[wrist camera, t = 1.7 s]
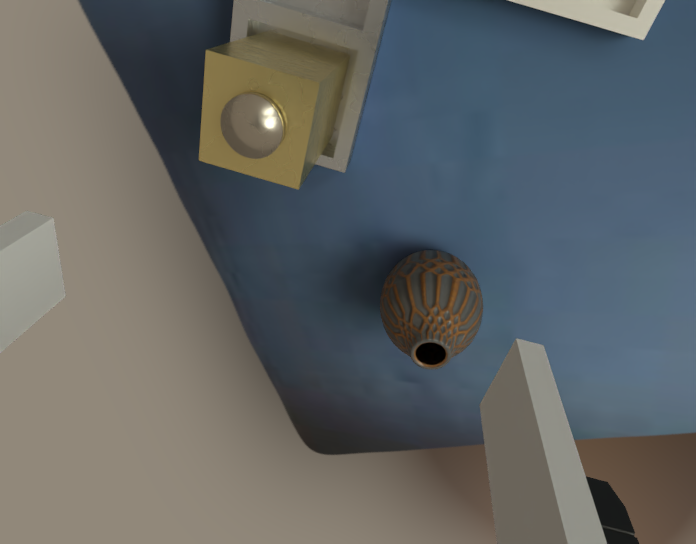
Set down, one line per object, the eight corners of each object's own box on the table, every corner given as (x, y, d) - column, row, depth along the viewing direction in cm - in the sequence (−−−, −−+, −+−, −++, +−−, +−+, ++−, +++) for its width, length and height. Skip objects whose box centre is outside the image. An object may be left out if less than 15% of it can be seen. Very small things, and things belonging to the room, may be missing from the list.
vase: (370, 293, 36) (355, 371, 29) (407, 221, 33) (401, 290, 25) (450, 325, 37) (455, 410, 30) (496, 258, 33) (514, 336, 26)
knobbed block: (268, 30, 27) (200, 51, 19) (350, 54, 27) (316, 85, 19) (257, 115, 30) (193, 164, 22) (332, 136, 30) (295, 194, 22)
